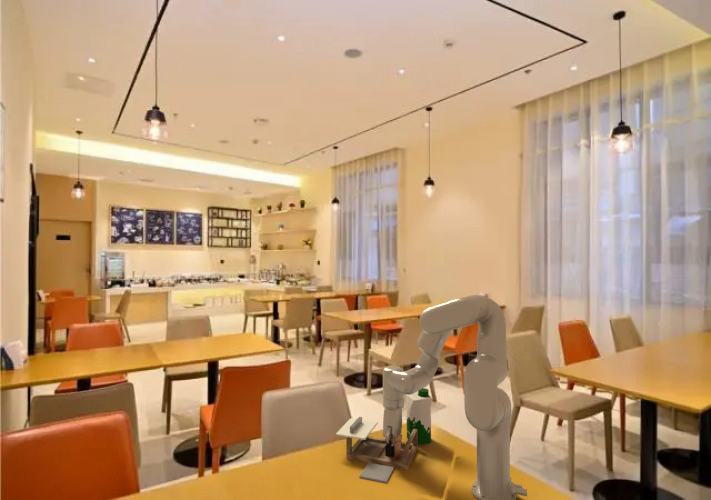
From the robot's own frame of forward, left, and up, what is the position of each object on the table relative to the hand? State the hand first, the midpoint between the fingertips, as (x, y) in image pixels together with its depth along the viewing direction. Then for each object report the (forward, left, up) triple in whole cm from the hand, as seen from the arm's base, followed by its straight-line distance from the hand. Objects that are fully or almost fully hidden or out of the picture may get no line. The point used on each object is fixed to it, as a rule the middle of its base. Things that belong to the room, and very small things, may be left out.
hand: (393, 450), depth 143 cm
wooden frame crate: (+4, 0, -3) cm, 5 cm away
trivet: (+2, +14, -3) cm, 14 cm away
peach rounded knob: (0, 0, -2) cm, 2 cm away
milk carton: (-6, -15, -3) cm, 16 cm away
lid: (+14, 0, +5) cm, 15 cm away
